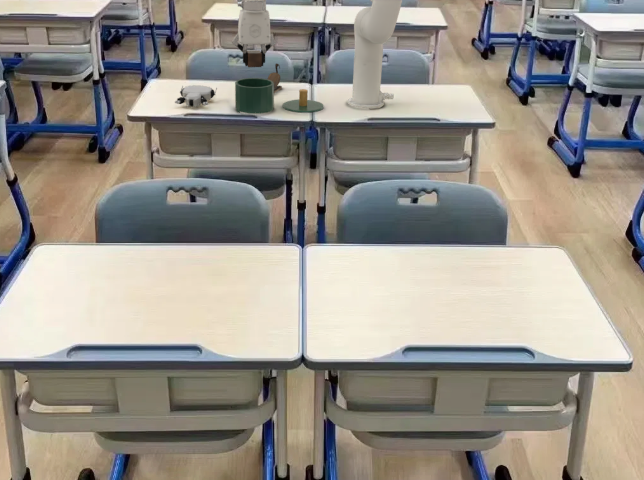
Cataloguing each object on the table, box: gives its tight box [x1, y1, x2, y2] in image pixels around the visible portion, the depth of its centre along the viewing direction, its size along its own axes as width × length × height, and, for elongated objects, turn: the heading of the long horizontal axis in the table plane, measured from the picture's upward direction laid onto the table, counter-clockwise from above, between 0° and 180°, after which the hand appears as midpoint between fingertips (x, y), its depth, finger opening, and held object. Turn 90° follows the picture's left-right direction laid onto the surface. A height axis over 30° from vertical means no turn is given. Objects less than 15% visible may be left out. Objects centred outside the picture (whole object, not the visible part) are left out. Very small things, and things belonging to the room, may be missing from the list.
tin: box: [234, 77, 275, 115], centre depth 270 cm, size 13×13×9 cm
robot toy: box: [174, 84, 218, 108], centre depth 276 cm, size 12×4×15 cm
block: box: [247, 49, 263, 68], centre depth 264 cm, size 4×4×4 cm
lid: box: [282, 88, 324, 114], centre depth 273 cm, size 14×14×6 cm
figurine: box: [267, 63, 283, 94], centre depth 293 cm, size 14×4×9 cm, turn 164°
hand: (254, 64), depth 265 cm, fingers closed on block, 4 cm apart
